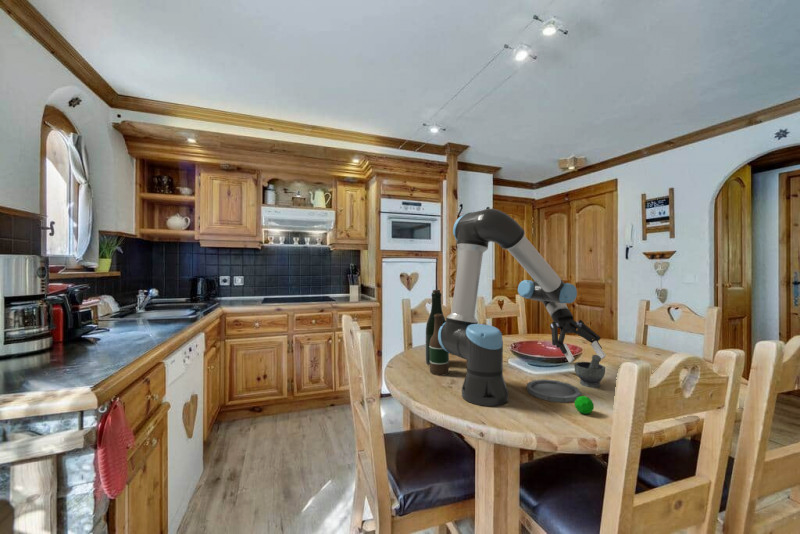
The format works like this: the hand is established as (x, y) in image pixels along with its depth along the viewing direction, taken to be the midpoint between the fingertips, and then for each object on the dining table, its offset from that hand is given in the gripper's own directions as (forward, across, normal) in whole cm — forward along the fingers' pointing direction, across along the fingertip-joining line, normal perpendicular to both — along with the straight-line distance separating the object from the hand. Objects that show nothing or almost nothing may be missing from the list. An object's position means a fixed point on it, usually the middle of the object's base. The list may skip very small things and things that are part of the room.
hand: (587, 359), depth 124 cm
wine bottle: (-20, +46, -32) cm, 60 cm away
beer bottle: (-11, +49, -24) cm, 56 cm away
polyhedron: (+21, +20, +9) cm, 30 cm away
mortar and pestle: (+8, +1, -4) cm, 9 cm away
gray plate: (+10, +19, -2) cm, 21 cm away
